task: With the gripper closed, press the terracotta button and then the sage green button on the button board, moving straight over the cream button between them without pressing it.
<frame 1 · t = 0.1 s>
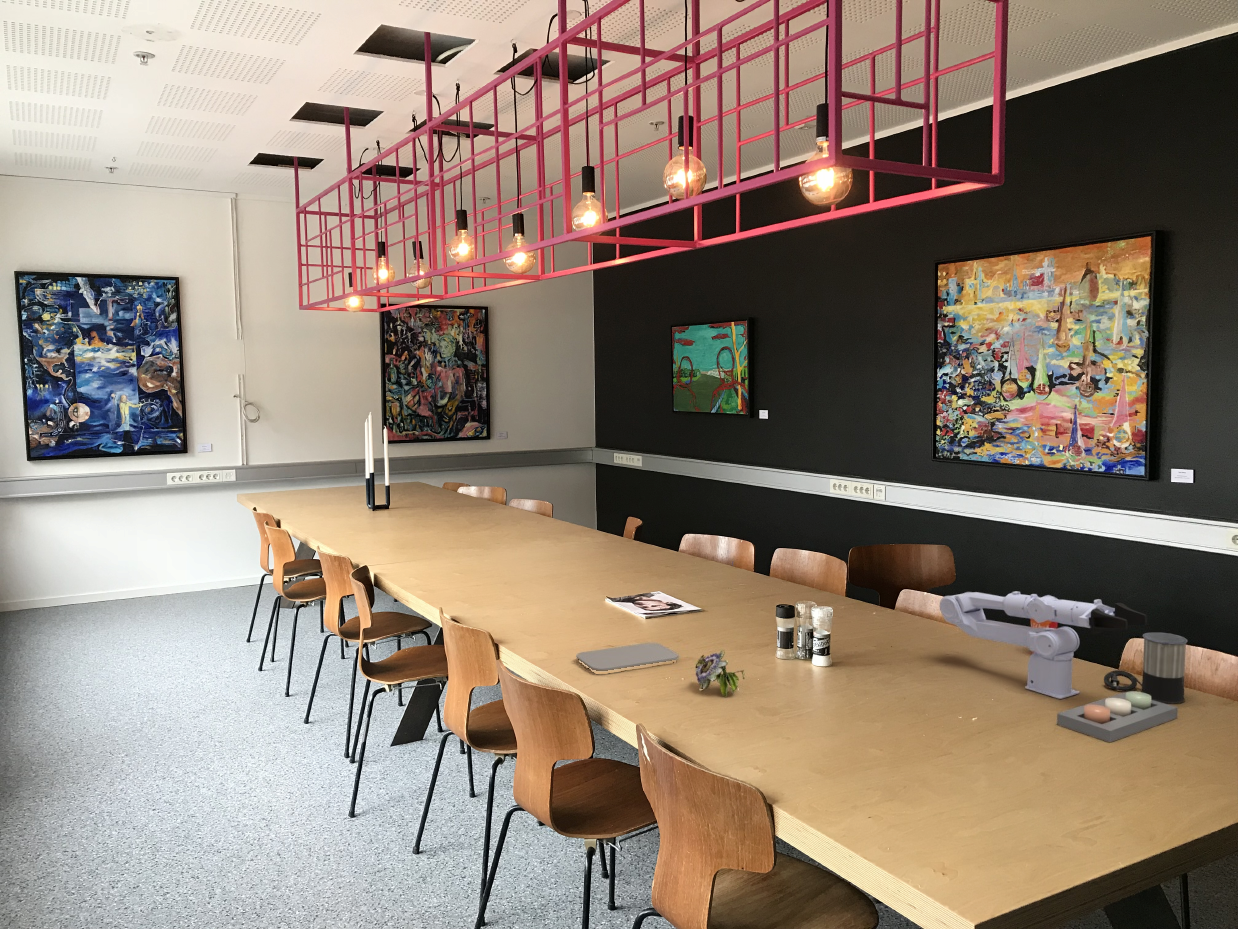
hand: (1136, 622, 201), 22 cm above the table, tool horizontal, fingers open, 7 cm apart
tablet: (627, 663, 248), on the table
button sage: (1138, 701, 204), point 3 cm above the table, slide at 0.0 cm
button board: (1117, 721, 200), on the table
milk frother: (1143, 694, 218), on the table
paper cup: (1043, 656, 249), on the table
button terracotta: (1096, 714, 196), point 3 cm above the table, slide at 0.0 cm
button cream: (1118, 707, 200), point 3 cm above the table, slide at 0.0 cm
passion flower: (717, 690, 224), on the table
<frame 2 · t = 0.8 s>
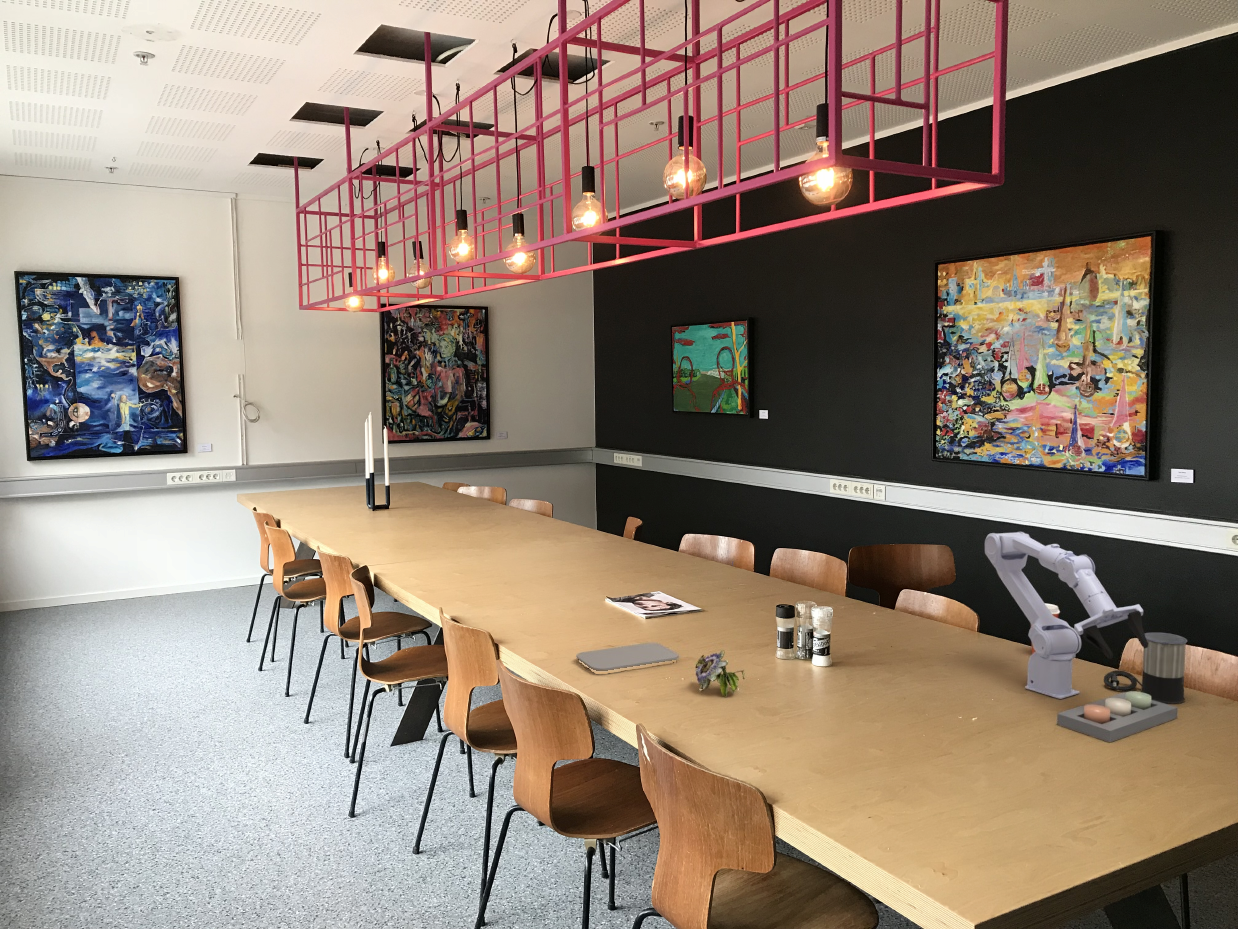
hand: (1128, 651, 196), 17 cm above the table, tool tilted 50°, fingers open, 7 cm apart
nothing on the table moved.
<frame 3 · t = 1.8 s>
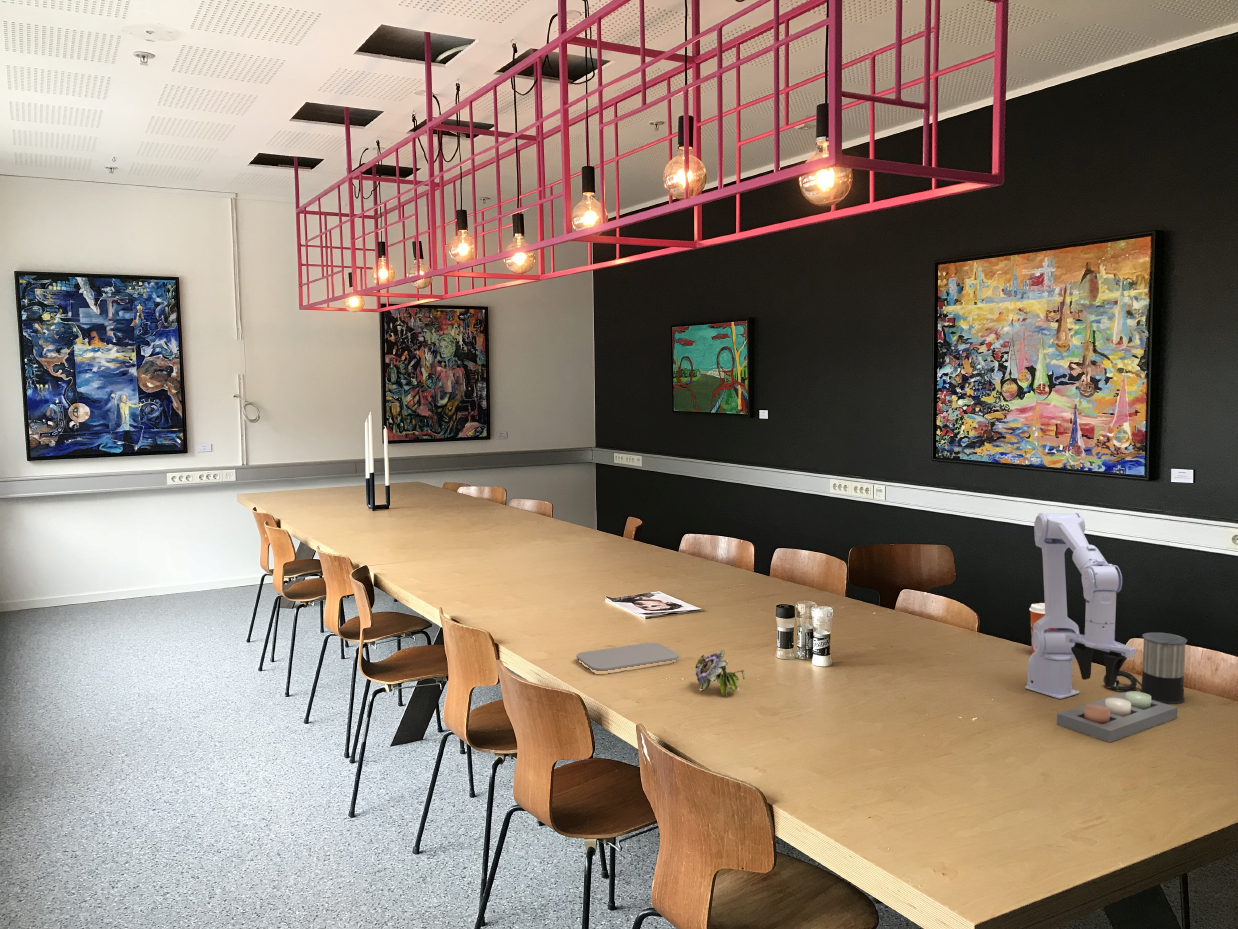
hand: (1098, 682, 195), 10 cm above the table, tool pointing down, fingers open, 5 cm apart
nothing on the table moved.
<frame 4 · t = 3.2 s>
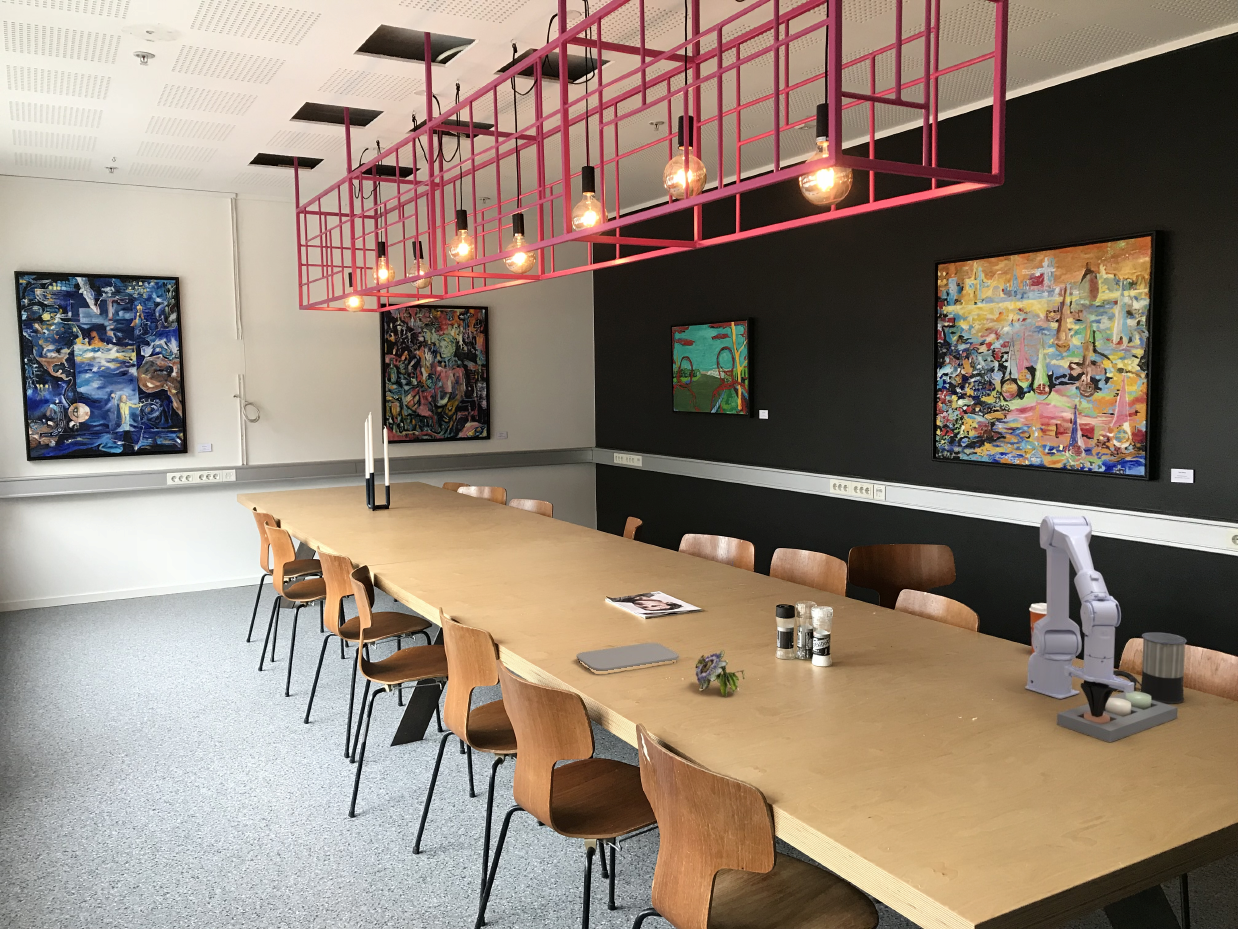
hand: (1096, 715, 196), 3 cm above the table, tool pointing down, fingers closed, pressing on button terracotta
button terracotta: (1096, 721, 196), point 2 cm above the table, slide at 1.6 cm, touching gripper
everything else where it was.
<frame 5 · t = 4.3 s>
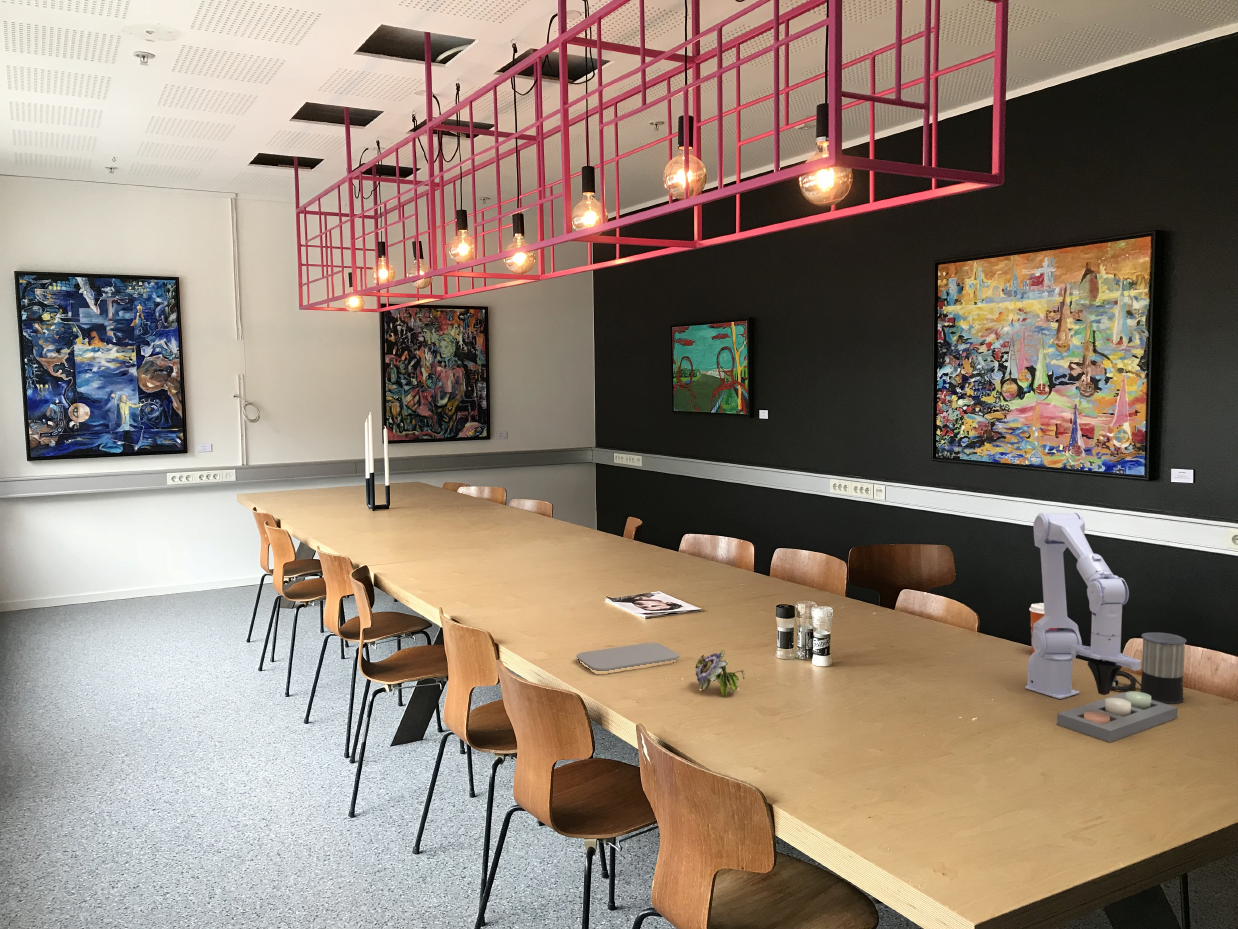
hand: (1103, 693, 197), 7 cm above the table, tool pointing down, fingers closed
button terracotta: (1096, 721, 196), point 2 cm above the table, slide at 1.6 cm
everything else where it was.
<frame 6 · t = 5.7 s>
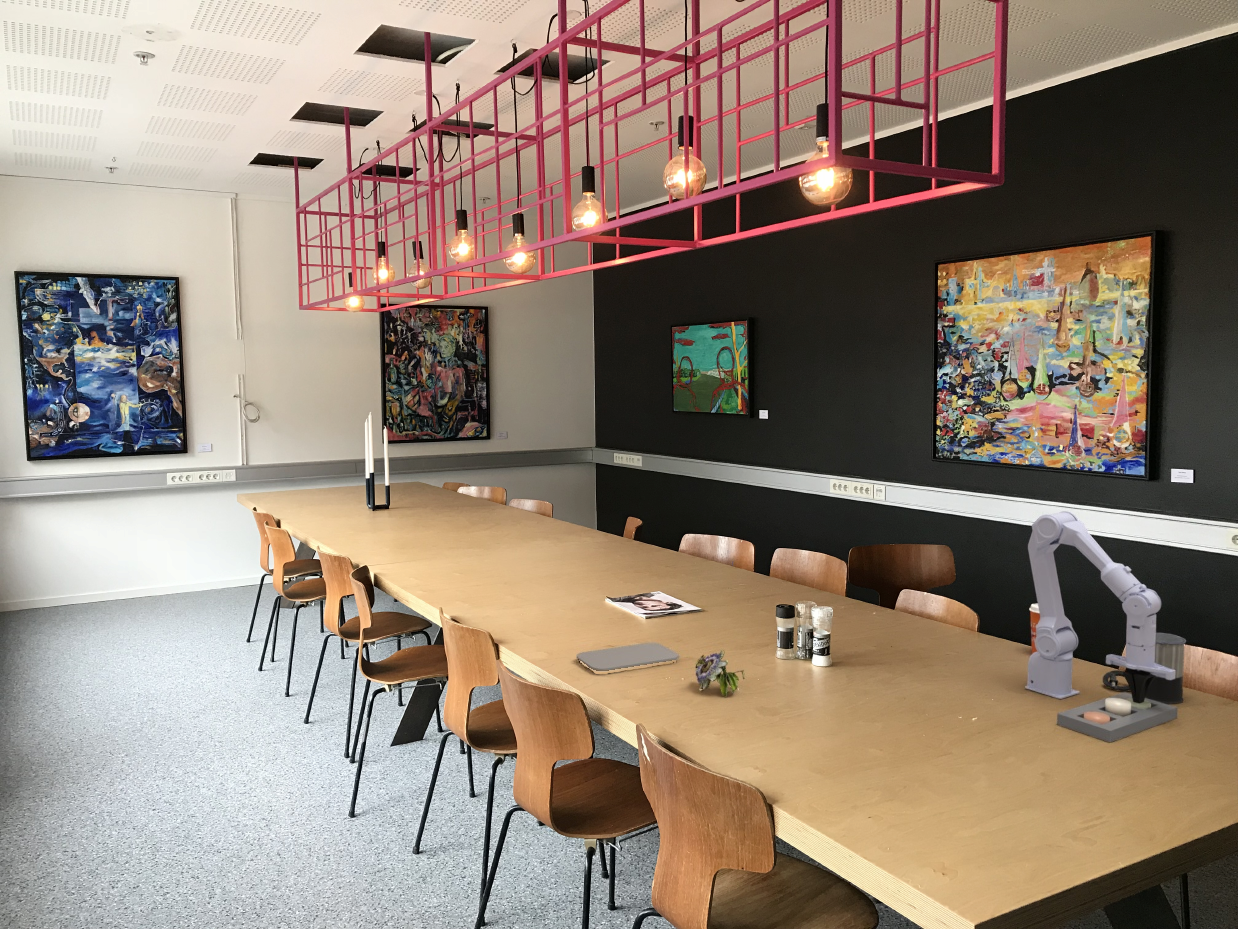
hand: (1138, 702, 204), 3 cm above the table, tool pointing down, fingers closed, pressing on button sage
button sage: (1138, 707, 204), point 2 cm above the table, slide at 1.6 cm, touching gripper
everything else where it was.
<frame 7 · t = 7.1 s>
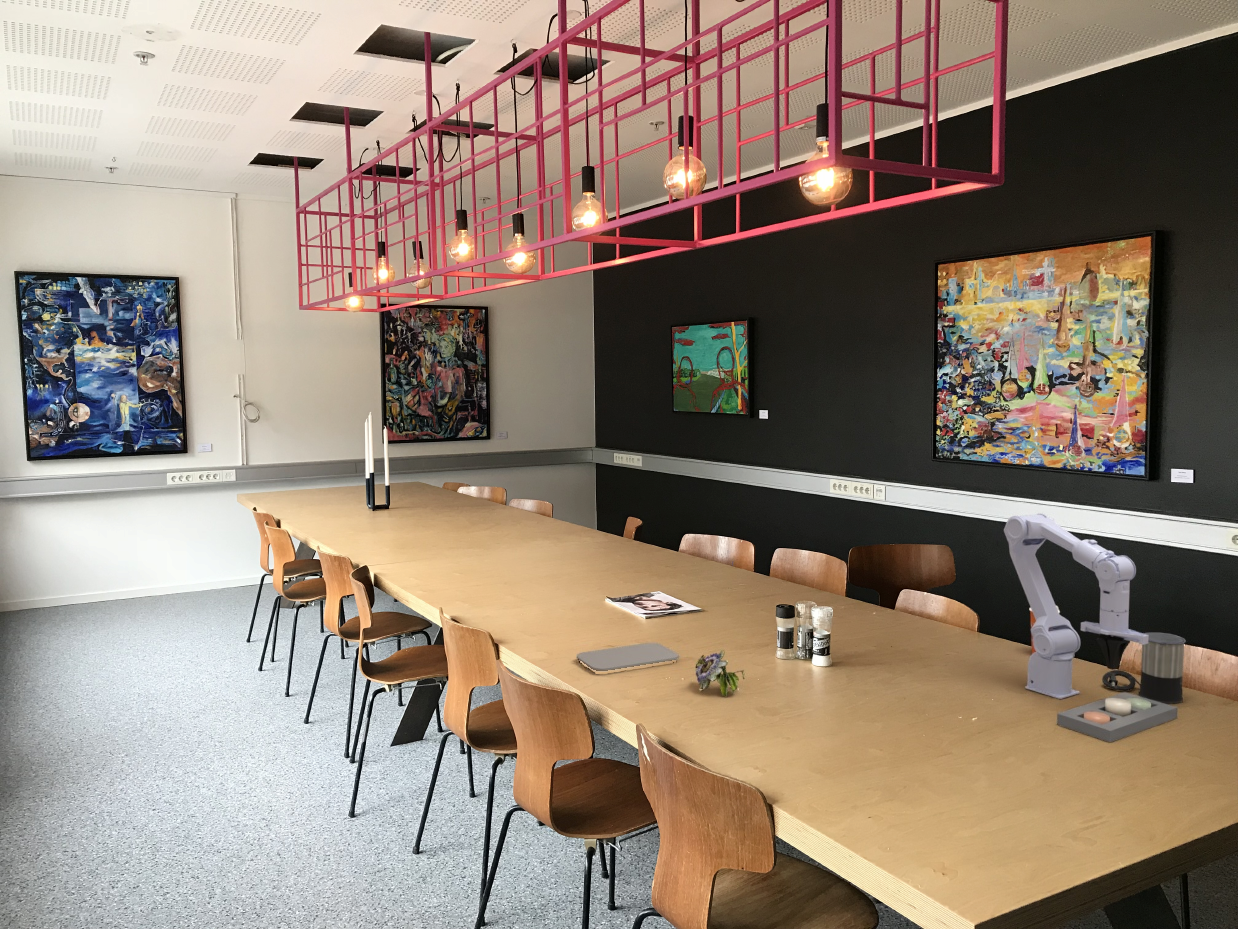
hand: (1112, 668, 205), 10 cm above the table, tool pointing down, fingers closed
button sage: (1138, 707, 204), point 2 cm above the table, slide at 1.6 cm
everything else where it was.
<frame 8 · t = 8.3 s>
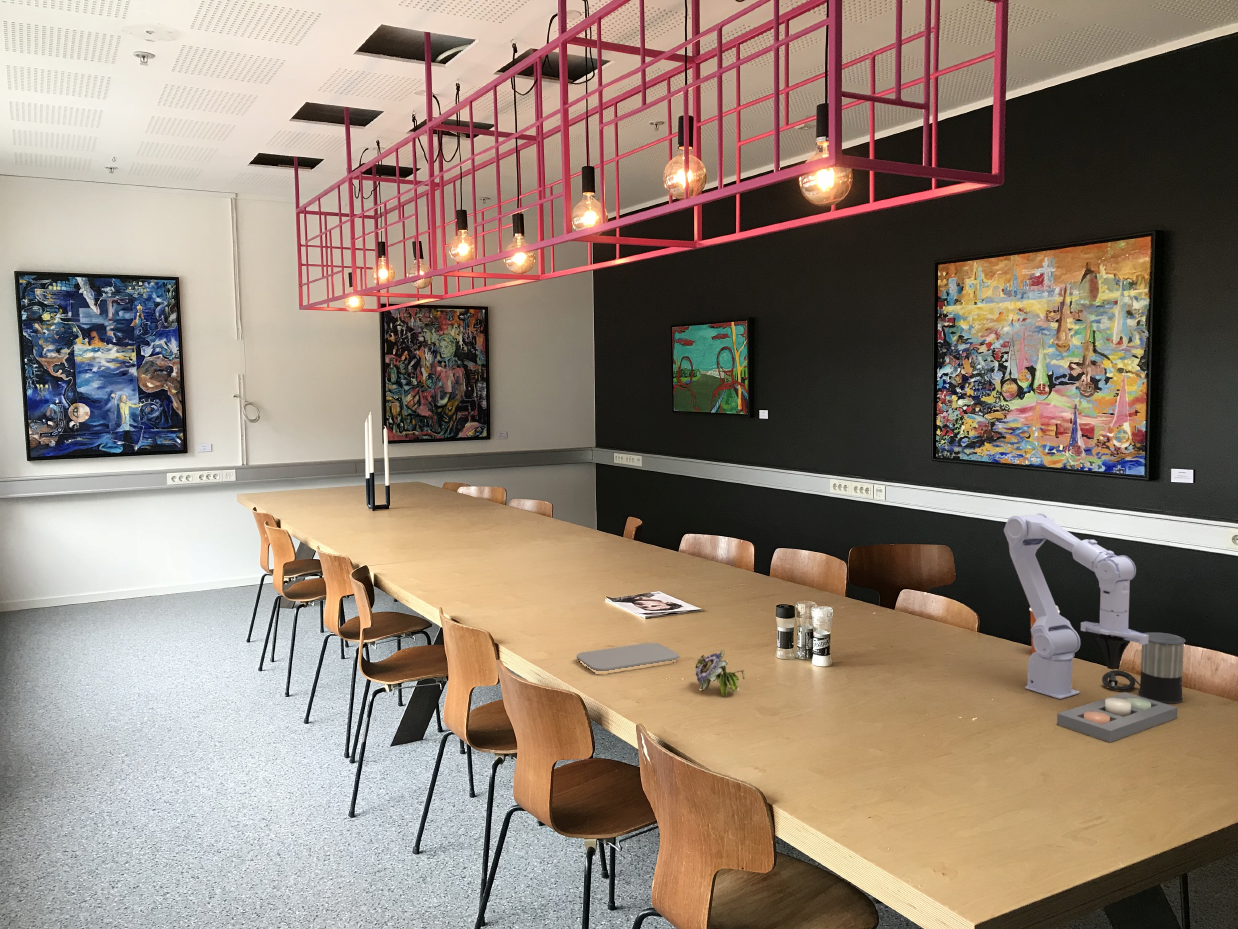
hand: (1112, 668, 205), 10 cm above the table, tool pointing down, fingers closed
nothing on the table moved.
at the end: button terracotta slide at 1.6 cm; button sage slide at 1.6 cm; button cream slide at 0.0 cm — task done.
